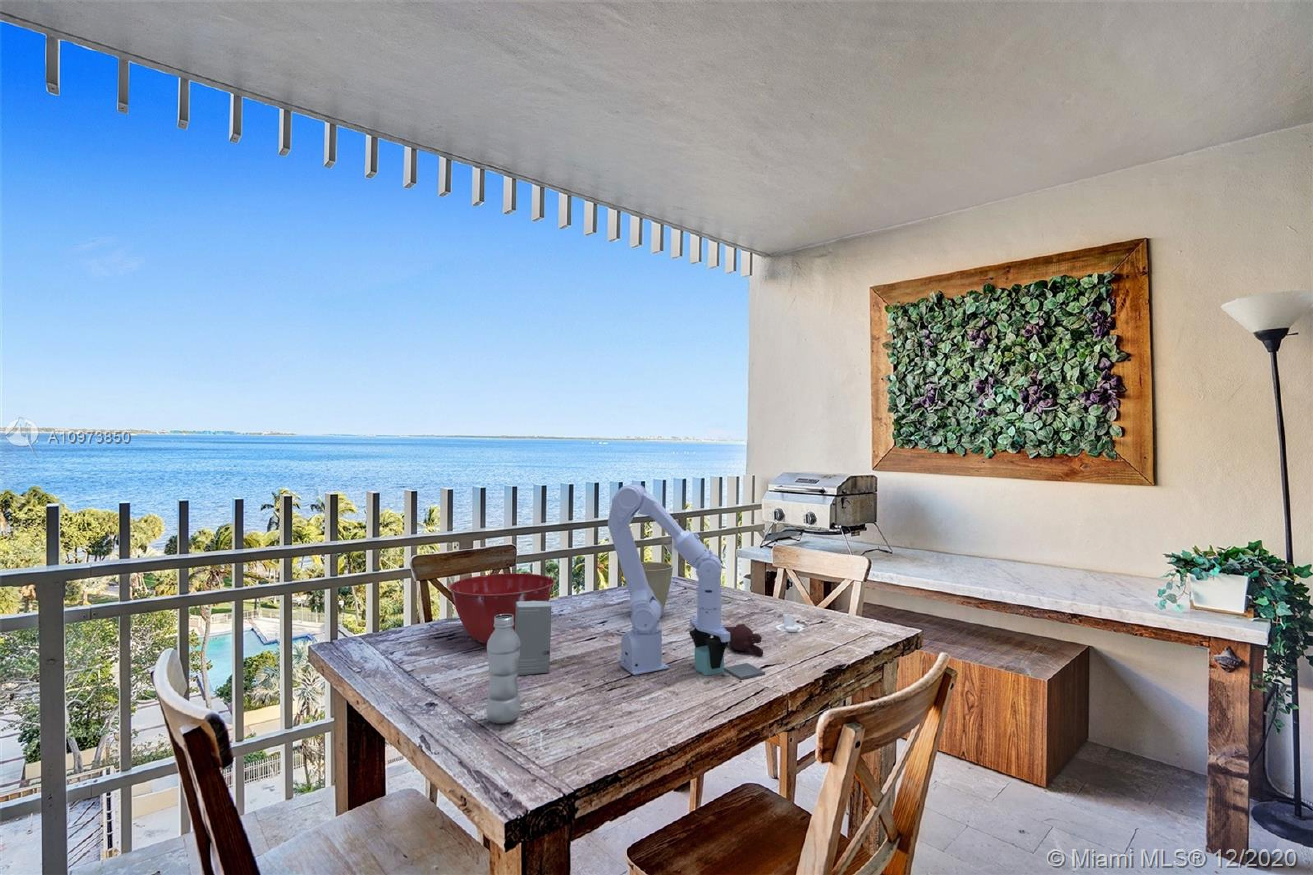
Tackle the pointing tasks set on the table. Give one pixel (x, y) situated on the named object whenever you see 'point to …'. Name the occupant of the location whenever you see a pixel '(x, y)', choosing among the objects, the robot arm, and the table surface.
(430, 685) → the table surface
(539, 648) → the skincare box
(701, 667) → the teal cube
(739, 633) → the dark brown lumpy figure
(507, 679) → the plastic bottle
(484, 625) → the mixing bowl
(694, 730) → the table surface
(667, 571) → the plant pot
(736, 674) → the slate coaster
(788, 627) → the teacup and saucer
